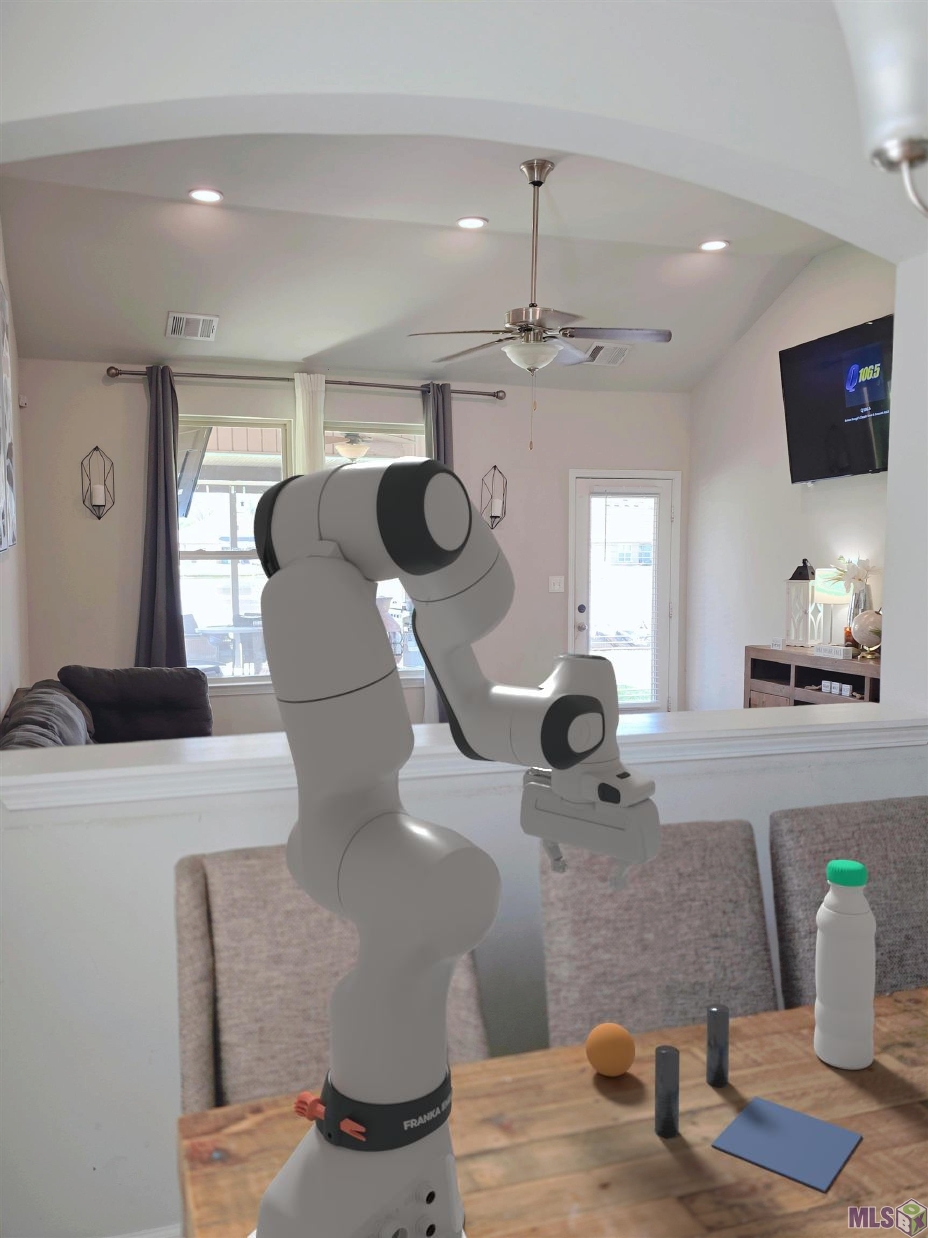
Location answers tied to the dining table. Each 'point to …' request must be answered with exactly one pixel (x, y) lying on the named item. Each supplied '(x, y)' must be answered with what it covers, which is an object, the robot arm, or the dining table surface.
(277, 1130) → the dining table surface
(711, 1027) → the far post
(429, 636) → the robot arm
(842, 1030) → the water bottle
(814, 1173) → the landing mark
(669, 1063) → the near post
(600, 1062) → the ball
